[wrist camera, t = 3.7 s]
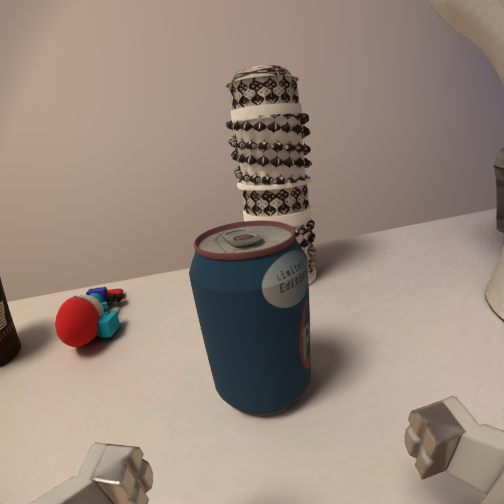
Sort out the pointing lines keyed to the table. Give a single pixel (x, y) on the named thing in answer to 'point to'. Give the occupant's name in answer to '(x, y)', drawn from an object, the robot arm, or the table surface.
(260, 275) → the soda can
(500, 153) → the beverage cup
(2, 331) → the coffee mug
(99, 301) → the toy figure
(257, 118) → the decorative candle
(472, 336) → the table surface
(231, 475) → the table surface
